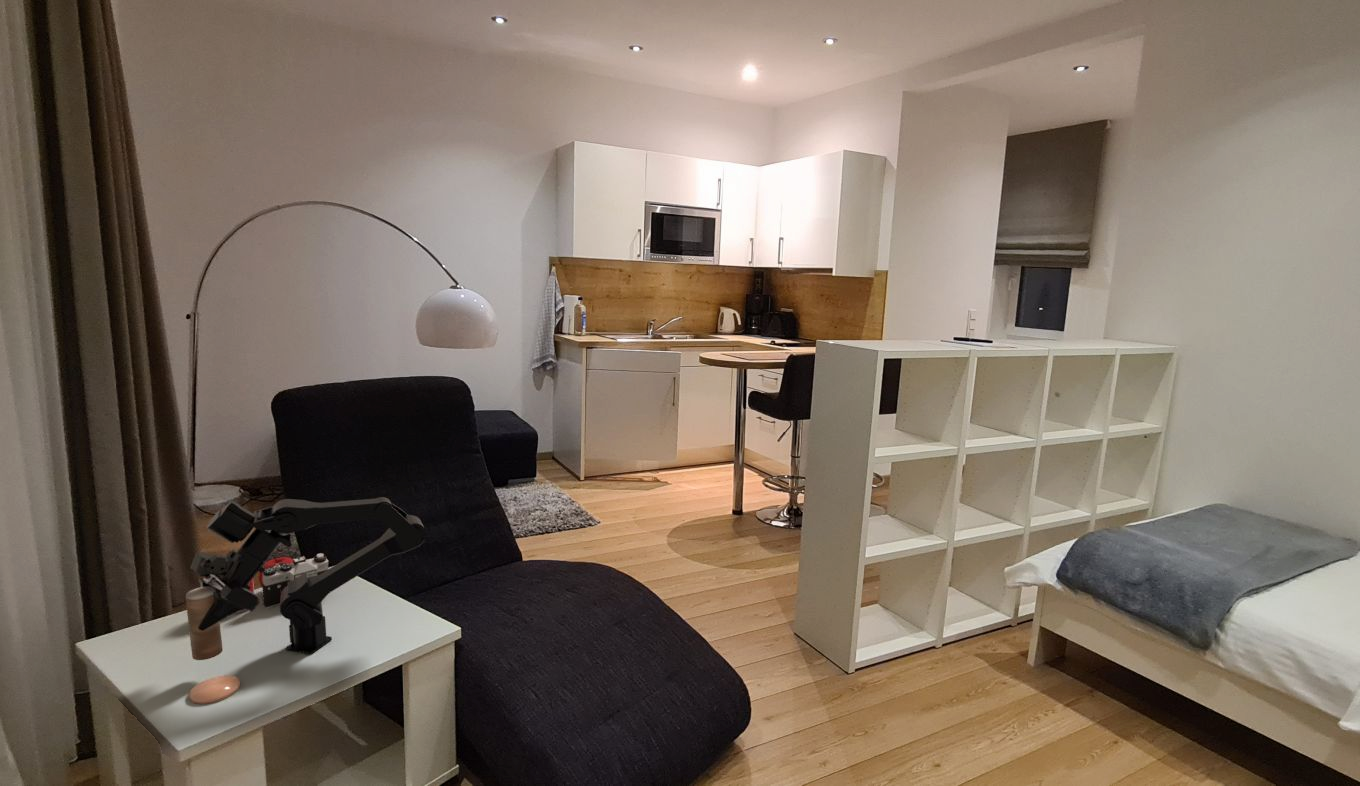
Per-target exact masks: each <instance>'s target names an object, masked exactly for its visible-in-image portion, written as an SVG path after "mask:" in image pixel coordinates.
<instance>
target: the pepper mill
mask: <svg viewBox="0 0 1360 786" xmlns="http://www.w3.org/2000/svg"><path fill="white" fill-rule="evenodd" d="M213 592H216V590H215V588H214V587H201V586H200V587H197V588H194V589H191V590H189V591H187V592H186V594H185V603H186V604H185V605H186V614H187V622H188V623H187V624H188V630H189V631H188V632H189V640H190V647H191V649H190V650H191V657H192V659H193V660H195V661H206V660H209V659H210V660H211V659H212V658H215V657H217V656H219V655H220V654H221V653H222V652H223V641H222V640H223V639H222V632H221V631H222V629H221V623H220V622H221V621H219V622H217V623H215V624H214V625H212V626H210V627H209V628H207V629H205V630H203V631H201V630H199V629H198V626H199V625H200V623H201V621H202V620H203V618H204V617H205V615H206V614H207V612H208V611H209V609H210V608H211V606H212V604H213V603H214V596H213Z"/></svg>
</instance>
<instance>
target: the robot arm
mask: <svg viewBox="0 0 1360 786" xmlns="http://www.w3.org/2000/svg"><path fill="white" fill-rule="evenodd" d="M375 519H376V520H377V519H378V520H380V521H381V522H383V524H384V525H385V526H387V530H386V531H385V532H384V533H383V534H382V536H380V537H379V538H378V539H376V540H374V541H373V542H371V543H370V544H368V545H366V546H365V547H363V548H361V549H359V550H358V551H356V552H355V553H353V554H352V555H350V556H348V557H346V558H344V559H343V560H341V561H340V562H338V563H337V564H335V565H333V566H332V567H330V568H328V570H326V571H325V572H323V573H321V574H319V575H317V576H312V577H308V575H307V573H306V572H305V573H303V574H302V575H301V576H299V577H298V578H297V579H295V580H293V581H289V582H288V586H286V587H285V588H284V589H283V590H282V593H281V596H280V604H279V605H280V606H279V611H280V614H281V616H282V617H284V619H287V620H289V625H288V629H289V641H290V644H289V645H288V646H286V647H285V649H286V651H291V652H298V653H303V654H314V653H315V652H317V651H318V650H319V649H321V648H322V647H323V646H325V645H326V644H328V643H329V642H330V641H332V639H333V637H332V636H329V635H327V624H326V616H325V615H324V614H323V613H324V612H323V603H322V602H323V601H324V599H325V598H326V597H327V596H328V595H330V594H331V593H332V592H333V591H335V590H336V589H338V588H340V587H341V586H343V585H345V584H347V583H348V582H350V581H352V580H354V579H355V578H356V577H358V576H360V575H361V574H363V573H364V572H366V571H368V570H369V569H371V568H373V567H374V566H375V565H378V564H379V563H381V562H382V561H383V560H386V559H387V558H389V557H391V556H394V555H400V554H404V553H406V552H409V551H411V550H414V549H416V548H419V547H420V546H421V545H422V544H423V543H424V542H425V540H426V537H427V531H426V528H425V526H424V524H423V523H422V521H421V519H420V518H419V517H418V516H416V515H412V514H407V513H406V512H405V511H404V510H403V509H401V507H398V506H397V505H395V504H394V503H392V502H391V500H390V499H389V498H387V497H386V496H385V497H384V496H379V497H376V498H369V499H368V498H366V499H364V498H363V499H354V500H353V499H352V500H341V501H328V502H315V501H309V500H305V499H294V498H293V499H292V498H285V499H281V500H278V501H277V502H276V503H275V504H274V505H272V506H269V507H266V508H262V509H258V510H255V511H254V512H251V511H249V510H248V509H246V508H245V507H243V506H241V505H240V504H239V502H237V501H234V500H230V502H228V504H225V505H224V506H223V507H222V508H221V509H218V511H217V512H216V513H215V514H214V515H213V516H212V518H211V519H210V520H209V522H208V523H207V524H206V526H205V529H206V530H208V531H209V532H211V533H213V534H214V535H216V536H219V537H220V538H222V539H224V540H226V541H227V542H230V543H231V544H233V543H239V542H240V543H241V542H242V541H244V539H245V538H246V539H245V541H244V542H243V543H242V544H241V545H240V546H239V548H238V549H237V550H234V549H232V550H230V551H228V553H227V554H226V555H223V554H218V553H217V554H216V553H210V552H201V551H198V552H195V555H194V558H193V560H192V563H191V565H190V570H193V571H194V573H195V574H197V575H198V576H199V577H200V578H199V579H198V582H199V585H200V587H214V588H215V590H216V592H213V596H214V603H213V604H212V606H211V608H210V609H209V611H208V612H207V614H206V615H205V617H204V618H203V620H202V621H201V623H200V625H199V626H198V629H199V630H201V631H203V630H205V629H207V628H209V627H210V626H212V625H214V624H215V623H217V622H219V621H220V622H221V621H222V620H224V619H226V618H228V617H229V616H231V615H234V614H236V613H235V612H237V611H239V610H243V609H244V608H245V609H247V610H246V611H250V612H254V610H255V609H256V607H257V606H258V605H259V604H260V599H259V596H258V595H257V594H255V592H254V593H253V592H252V591H250V590H249V589H250V587H251V586H249V585H248V584H249V582H250V581H251V580H252V579H253V580H254V578H255V576H256V575H257V574H258V573H260V572H261V573H262V572H263V571H264V570H265V568H264V567H263V565H264V564H265V563H266V562H268V561H269V559H270V557H271V556H272V555H273V554H274V552H275V551H276V550H277V549H278V548H279V546H280V545H281V544H282V545H284V546H286V547H288V548H292V545H293V544H292V541H291V537H292V535H291V534H292V533H296V532H301V531H305V530H307V529H309V528H312V527H315V526H317V525H318V526H319V525H322V524H324V525H325V524H334V523H344V522H355V521H364V520H365V521H367V520H368V521H369V520H375ZM253 529H254V530H253ZM249 534H250V535H249ZM247 536H248V537H247ZM202 577H204V578H203V579H202Z"/></svg>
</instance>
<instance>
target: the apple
mask: <svg viewBox="0 0 1360 786" xmlns="http://www.w3.org/2000/svg"><path fill="white" fill-rule="evenodd" d="M293 559H294V558H290V557H287V556H285V557H284V556H281V557H277V558H276V555H273V559H270V560H267V561H266V562H265V564H264V565H263V566H262V567H264V568H268V567H272V566H274V565H276V564H280V563H283V564H285V563H289V564H292V563H293ZM262 574H263V572H262V573H261V572H258V581H259V585H260V586H261V588H262V589H263V583H262Z"/></svg>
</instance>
